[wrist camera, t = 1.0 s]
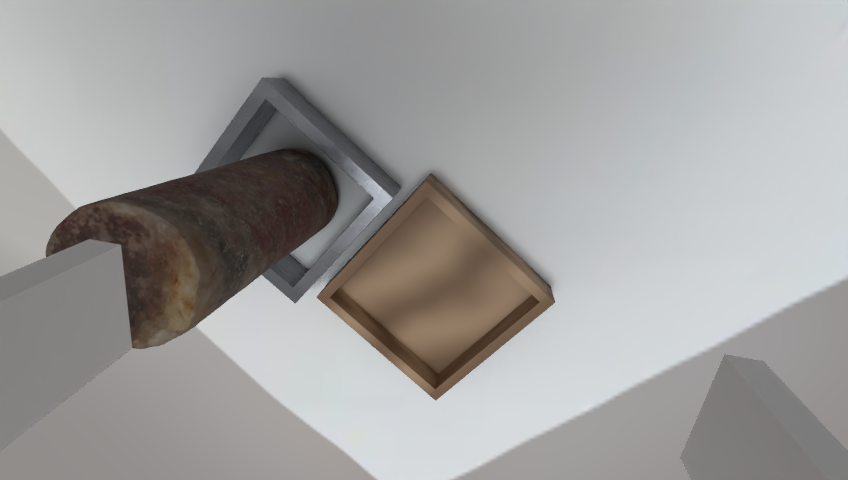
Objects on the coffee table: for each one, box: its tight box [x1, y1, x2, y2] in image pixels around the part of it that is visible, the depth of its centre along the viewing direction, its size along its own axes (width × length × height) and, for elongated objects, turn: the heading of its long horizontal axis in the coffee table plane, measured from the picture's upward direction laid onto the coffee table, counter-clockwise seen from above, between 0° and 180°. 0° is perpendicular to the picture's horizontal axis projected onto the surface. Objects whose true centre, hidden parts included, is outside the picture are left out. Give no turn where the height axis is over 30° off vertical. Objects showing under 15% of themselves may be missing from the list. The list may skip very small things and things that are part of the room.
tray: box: [317, 174, 555, 400], centre depth 39 cm, size 14×14×3 cm
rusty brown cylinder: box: [46, 149, 337, 349], centre depth 30 cm, size 8×7×20 cm
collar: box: [195, 78, 401, 303], centre depth 38 cm, size 12×12×4 cm
